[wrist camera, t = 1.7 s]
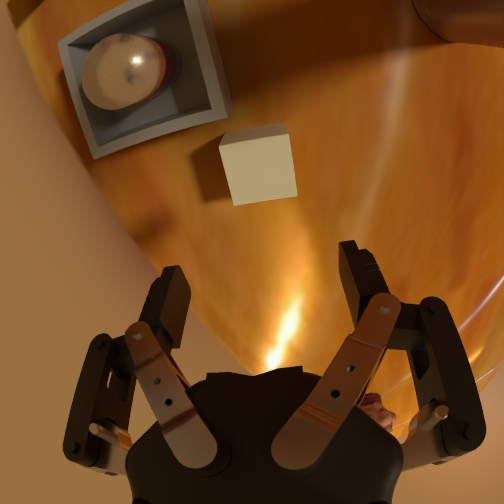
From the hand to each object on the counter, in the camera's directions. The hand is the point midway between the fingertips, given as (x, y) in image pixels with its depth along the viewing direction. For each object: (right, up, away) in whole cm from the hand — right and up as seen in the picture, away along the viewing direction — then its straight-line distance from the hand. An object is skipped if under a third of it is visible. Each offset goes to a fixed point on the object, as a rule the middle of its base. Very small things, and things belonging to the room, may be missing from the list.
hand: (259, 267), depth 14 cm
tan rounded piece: (-10, +18, +7) cm, 22 cm away
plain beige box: (0, +11, +14) cm, 18 cm away
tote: (-10, +19, +8) cm, 23 cm away
